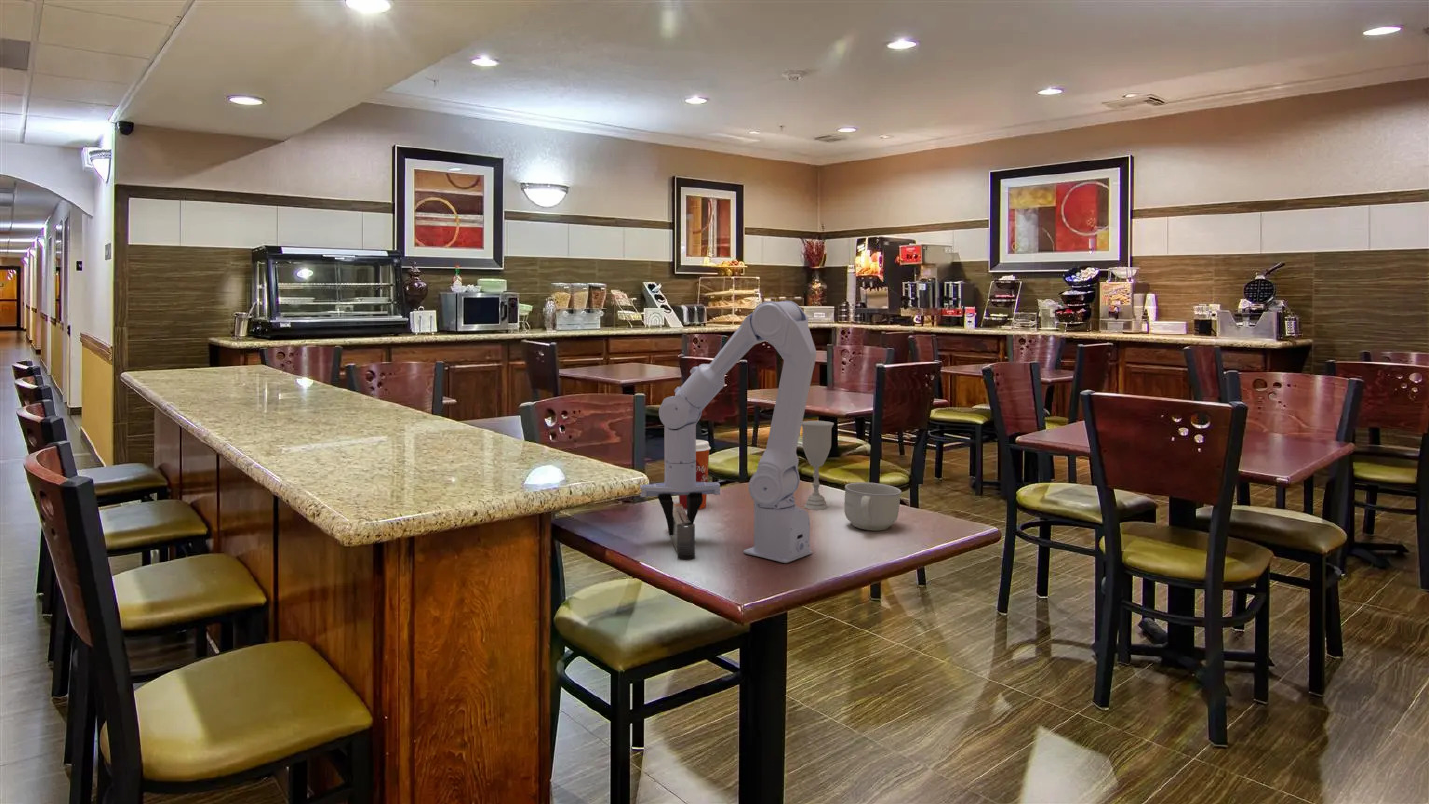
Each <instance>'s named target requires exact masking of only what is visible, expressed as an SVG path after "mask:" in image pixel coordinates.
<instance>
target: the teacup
mask: <svg viewBox="0 0 1429 804" xmlns="http://www.w3.org/2000/svg"><path fill="white" fill-rule="evenodd" d="M901 495H902V490H901V489H900V488H899V487H895V486H893V485H889V484H884V483H879V482H878V483H876V482H868V481H867V482H851V483H846V484H845V485H844V503H843V504H844V515H845V518H846V519H847V520H848V521H849V522H850V523H851V525H853V527H855V528H856V529H861V530H865V531H873V532H874V531H878V532H879V531H885V530H887V529H889V527H891V526H892V525H894V524H895V523H896V521H897V520H898V517H899V511H900V502H901Z"/></svg>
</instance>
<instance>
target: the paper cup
mask: <svg viewBox="0 0 1429 804" xmlns="http://www.w3.org/2000/svg"><path fill="white" fill-rule="evenodd" d="M711 448H712V447H711V446H710V443H709V441H707V440H704V439H696V482H708V478H709V476H708V475H709V461H710V459H709V457H710V450H711ZM707 495H708V494H702V497H703V501H702V504H701V506H700V508H699V510H703V509H705V508H706V507H707ZM678 499H679V504H682V506H683V508H684V510H685V511H687V498H686V495H678Z"/></svg>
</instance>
